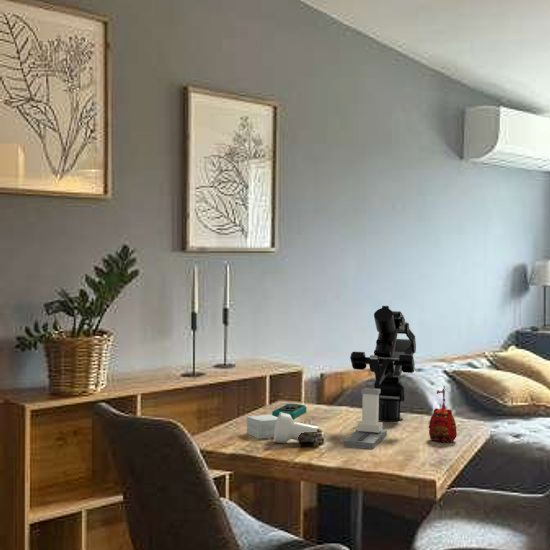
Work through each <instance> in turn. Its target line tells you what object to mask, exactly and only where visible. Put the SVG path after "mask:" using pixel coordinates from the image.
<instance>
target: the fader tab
mask: <svg viewBox="0 0 550 550" xmlns="http://www.w3.org/2000/svg"><path fill="white" fill-rule="evenodd" d="M380 393H381V389H376V388H373V387H362V388H361V389H360V394H361V395H362V408H361V409H362V411H361V412H362V414H361V416H362V417H361V421H359V422H358V423H357V429H358V431H365V432H376V433H379V432H380V431H381V430H383V424H384V423H383V422H382V421H381V422H380V421H379V419H378V414H379V394H380Z"/></svg>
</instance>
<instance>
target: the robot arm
mask: <svg viewBox="0 0 550 550" xmlns="http://www.w3.org/2000/svg"><path fill="white" fill-rule="evenodd" d="M381 306H382V307H381V308H379V309H377V310H376V311H375V312H374V314H373V317H374V322H375V329H376V331H377V332H378V335H377V339H376V341H375V344H376V345H375V349H374V351H373V355H372V354H371V355H369V357H368V356H366V353H365V351H352V352H351V353H350V357H349V358H350V361H351V367H352V369H353V370H357V371H358V370H360V371H363V370H366V368H367V366H368V367H369V370H370V372H372V373H374V377H375V381H374V388H376V389H381V393H380V394H379V414H378V420H380V421H384V422H395V421H404V418H402V417H401V402H406V394H405V387H404V383H403V382H402V377H401V375H402V373H408V374H413V373H414V372H415V359H414V354H415V353H416V351H417V341H416V335H415V334H414V333H413V332H412V329H410V324H409V322H408V321H406V319H405V316H404V314H402V313H403V312H402V311H401V310H400V311H399V310H398V311H397V310H391V309H390V307H389V305H381ZM398 334H401V335H402V334H403V335H404V334H405V335H406V337H407V338H408V339H407V338H405V339H404V338H398Z"/></svg>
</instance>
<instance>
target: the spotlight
mask: <svg viewBox="0 0 550 550" xmlns="http://www.w3.org/2000/svg"><path fill="white" fill-rule="evenodd" d="M304 432H317V433H318V426H317V425H313V424H309V423H303V422H299V421H295V419H292V417H291V415H290V414H287V413H282V412H280V413H279V415H278V418H277V421H276V424H275V429H274V437H273V442H274V443H278V444H282V443H284V444H286V443H287V442H288V441H290V440H295V441H299V440H298V437H299V435H300V434H301V433H304Z"/></svg>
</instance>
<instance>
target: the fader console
mask: <svg viewBox="0 0 550 550" xmlns="http://www.w3.org/2000/svg"><path fill="white" fill-rule="evenodd" d="M387 433H388V430H387V429H382V430H381V431H380V432H379V433H376V432H365V431H358V428H357V429H355V431H353V432H352V433H351V434H349V435H348V436H347V437H346V438H345V439H344V440H343V447H348V448H349V447H351V448H359V449H371V450H373V449H375V448H376V446H377V445H378V444H380V443H381V442H382V441H383V440H384V439H386V437H387V435H388V434H387Z"/></svg>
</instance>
